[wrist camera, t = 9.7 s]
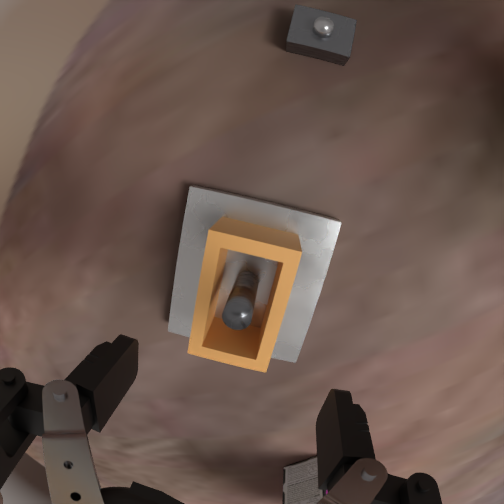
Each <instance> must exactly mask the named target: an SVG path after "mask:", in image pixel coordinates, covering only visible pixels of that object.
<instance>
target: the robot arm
mask: <svg viewBox="0 0 504 504" xmlns="http://www.w3.org/2000/svg"><path fill="white" fill-rule="evenodd" d="M137 371H138V340H136V339H133V338H130V337H127V336H125V335H122V334H121V335H119V336H118V337H117V338H116V339H115V340H114V341H113V342H112V343H109V342H107V341H106V342H104V343H102V344H100V345H98V346H96V347H95V348H94V349H93V350H92V351H91V352H90V354H88V355H87V356H86V358H85V359H84V360H83V361H82V362H81V363H80V364H79V365H78V366H77V367H76V368H75V369H74V370H73V371H72V372H71V373H70V375H69V376H68V377H67V378H66V379H65V380H53V381H50V382H49V383H47V384H46V385H45V386H43V385H38V384H34V383H30V382H26V379H25V376H24V374H23V373H22V372H21V371H20V370H18V369H16V368H3V369H1V370H0V489H1V488H2V486H3V485H4V483H5V481H6V480H7V478H8V477H9V475H10V474H11V472H12V471H13V469H14V468H15V466H16V465H17V463H18V462H19V460H20V459H21V457H22V456H23V454H24V453H25V452H26V450H27V449H28V447H29V446H30V444H31V443H32V441H33V440H34V439H35V437H36V436H37V435H38V436H42V444H43V453H44V461H45V468H46V473H47V480H48V486H49V491H50V496H51V501H52V504H184V503H182V502H180V501H178V500H176V499H174V498H173V497H171V496H169V495H167V494H165V493H164V492H162V491H159V490H156V489H153V488H150V487H147V486H144V485H142V484H139V483H136V482H134V481H133V483H132V485H131V487H130V488H127V487H107V488H101V486H100V483H99V479H98V476H97V473H96V469H95V465H94V462H93V458H92V454H91V450H90V445H89V441H88V437H87V434H88V433H89V431H90V430H91V429H93V430H95V431H97V432H101V430H102V429H103V427H104V426H105V424H106V423H107V421H108V420H109V418H110V417H111V415H112V414H113V412H114V411H115V409H116V408H117V406H118V405H119V403H120V402H121V400H122V399H123V397H124V396H125V394H126V393H127V391H128V390H129V388H130V387H131V385H132V384H133V382H134V380H135V378H136V375H137ZM367 423H368V422H367V418H366V414H365V412H364V411H363V409H362V408H361V407H360V405H359V404H353V402H352V397H351V393H350V391H344V390H338V389H331V390H330V392H329V394H328V396H327V398H326V400H325V402H324V404H323V406H322V408H321V410H320V412H319V415H318V418H317V422H316V441H317V466H318V489H319V490H327V491H328V493H327V494H326V495H325V496H324V497H323V498H322V499H321V500H320V501H319V502H318V503H317V504H442V501H441V497H440V493H439V489H438V485H437V483H436V481H435V479H434V478H433V477H431V476H430V475H428V474H425V473H415V474H413V475H411V476H410V477H409V478H408V479H404V478H400V477H397V476H393V475H390V474H388V473H387V470H386V468H385V466H384V465H383V464H382V463H380V462H379V461H377V460H376V459H375V454H374V449H373V445H372V440H371V435H370V432H369V426H368V425H367ZM0 504H3V498H2V495H1V493H0Z"/></svg>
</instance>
